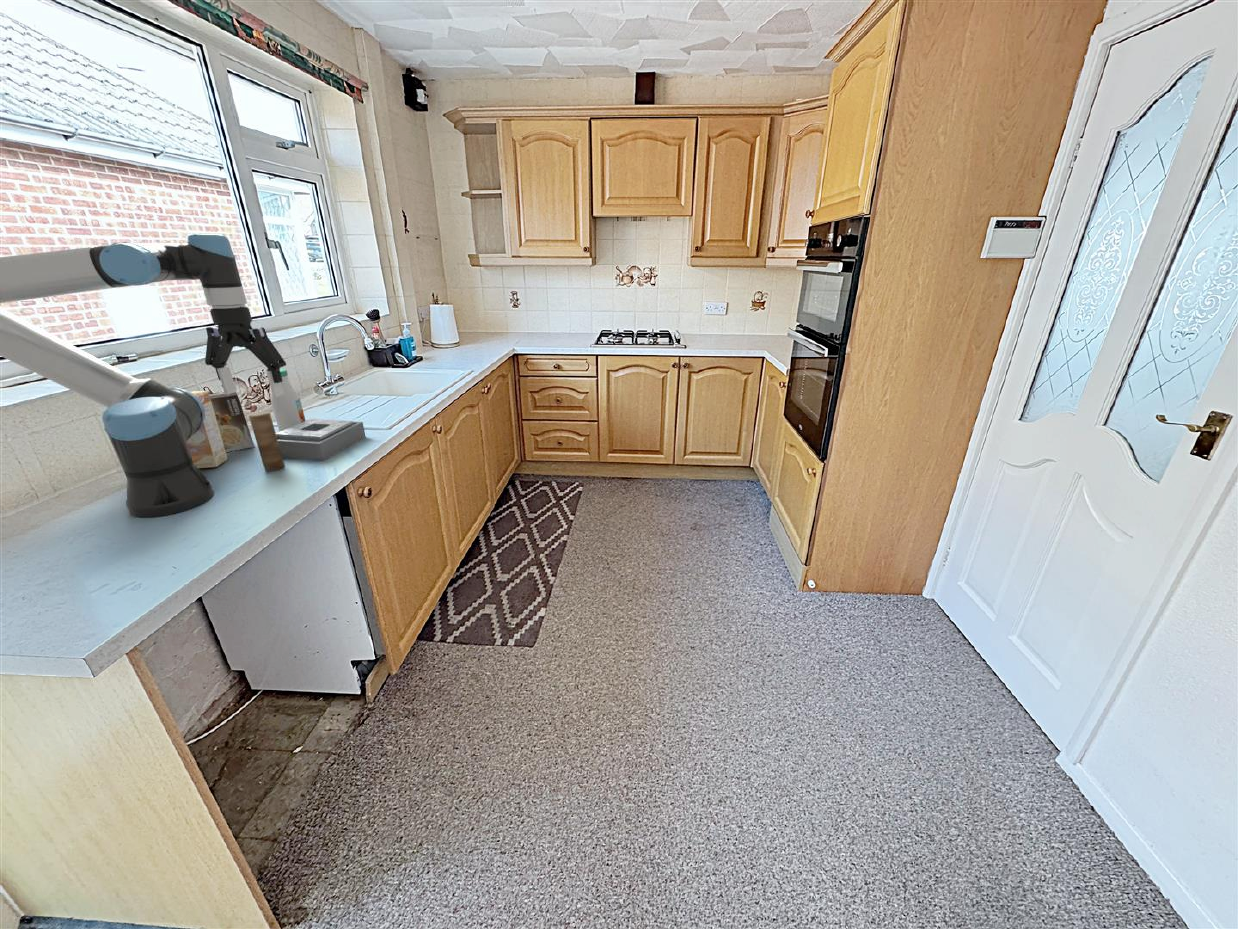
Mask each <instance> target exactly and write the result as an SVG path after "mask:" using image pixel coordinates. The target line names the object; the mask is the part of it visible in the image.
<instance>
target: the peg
mask: <svg viewBox="0 0 1238 929" xmlns="http://www.w3.org/2000/svg"><path fill="white" fill-rule="evenodd" d="M248 418H249V421H250V424H251V428H252V431H253V434H254V438H255V441H256V446H257V448H258V451H259V454H260V458H261V462H262V465H263V467H264V470H265V472H266V473H269V472H270V473H272V472H279V471H281V470H283V469H284V468H286V465H285V462H284V459H283V457H282V454H281V451H280V447H279V443H278V440H277V436H276V433H277V432H276V430H275V426H274V423H273V420H272V416H271V413H270V412H268V411H261V412H255V413H250V415H248Z"/></svg>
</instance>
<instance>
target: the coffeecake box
mask: <svg viewBox="0 0 1238 929" xmlns="http://www.w3.org/2000/svg"><path fill="white" fill-rule="evenodd" d="M189 392H190V393H192V394H193V395H195V396H196V397H197V398H198V399H199V400H200V401H201V403H202V405H203V407H204V410H205V419H204V421H203V423H202V426H201V428H200V429H199V430H198V431H197V432H196V433H195V434H193V435H192V436H191V437H190V438H189V439H188V440H187V441H186V443H187V446H188V449H189V451H190V454H191V457H192V460H193V463H194V465H195V466H196V467H197V468H198V469H205V468H206V469H207V468H216V467H219V466H220V465H221V464H223V463H225V462H226V461H227V460H228V457H227V456H228V455H227V453H226V452H225V448H224V445H223V441H222V438H221V434H220V431H219V427H218V424H217V420H216V417H215V413H214V409H213V406H212V402H211V399H210V395H209V394H210V393H209V390H194V391H189Z"/></svg>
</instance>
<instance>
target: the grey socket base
mask: <svg viewBox="0 0 1238 929" xmlns="http://www.w3.org/2000/svg"><path fill="white" fill-rule="evenodd" d="M351 421H352V422H353V425H352V426H350V427H348V428H346V429H344V430H342V431H340V432H338V433H336V434H334V435H332V436H330V437H328V438H326V439H324V440H322V441H320V442H308V441H294V440H279V439H277V440H278V443H279V447H280V451H281V454H282V458H286V459H295V460H297V459H298V460H299V459H300V460H312V461H323V460H324V461H325V460H327V459H329V458H331V457H333V456H334V454H335V455H336V454H338V453H340V452H341V451H343V450H346V449H347V448H349V447H351V446H353V445H354V444H356V443H358V442H360V441H362V440H363V439H365V438H366V433H365V428H364V427H365V426H364V421H353V420H351ZM332 455H333V456H332Z"/></svg>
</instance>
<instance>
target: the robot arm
mask: <svg viewBox="0 0 1238 929" xmlns="http://www.w3.org/2000/svg"><path fill="white" fill-rule="evenodd" d="M186 239H187V241H186V243H158V242H157V243H156V242H153V243H152V242H151V243H148V242H133V243H132V242H126V241H125V242H123V241H122V242H114V243H112V244H109V245H100V246H90V247H79V248H73V249H64V250H54V251H53V250H52V251H45V252H37V253H36V252H35V253H28V254H27V253H26V254H20V255H19V254H18V255H17V254H16V255H7V256H0V357H2V358H4V359H6V360H8V361H10V362H13V363H14V364H17V365H19V366H20V367H23V368H24V369H26V370H29V371H31V372H33V373H35V374H37V375H39V376H41V377H44V378H46V379H48V380H49V381H52V382H53V383H56V384H58V385H59V386H62V387H64V388H65V389H68V390H70V391H72V392H74V393H76V394H79V395H81V396H83V397H85V398H87V399H89V400H91V401H93V402H95V403H97V404H99V405H102V406H103V407H105V408H106V409H105V410H104V411H103V413H102V416H101V419H102V422H103V426H104V427H103V428H104V431H105V433H106V434H107V436H108V438H109V441H110V443H111V445H112V447H113V449H114V452H115V454H116V456H117V459H118V461H119V463H120V466H121V468H122V471H123V473H124V475H125V477H126V499H125V500H126V501H125V504H126V507H127V510H128V511H129V515H132V516H133V517H136V518H137V517H138V518H139V517H140V518H154V517H162V516H163V517H164V516H168V515H172V514H177V513H181V512H184V511H187V510H190V509H193V508H195V507H198V506H199V505H202V504H204V503H206V502H207V501H209V500H210V499H212V497H213V496H214V495H215V492H214V489H213V485H212V483H211V482H210V481H209V480H208V479H207V477H206V476H205V475H204V474H203V473H202V471H200V468H197V467H196V466H195V465H194V463H193V460H192V457H191V454H190V451H189V449H188V446H187V443H186V441H187V440H188V439H189V438H190V437H191V436H192V435H193V434H195V433H196V432H197V431H198V430H199V429H200V428H201V426H202V423H203V421H204V419H205V410H204V407H203V405H202V403H201V401H200V400H199V399H198V398H197V397H196V396H195V395H193V394H192V393H190V392H191V391H188V390H186V389H182V388H179V387H167V386H165V385H163V384H161V383H159V382H157V381H156V380H154V379H152V378H140V379H139V378H135V377H134V376H132V375H130V374H128V373H126V372H124V371H122V370H121V369H119V368H117V367H114V366H112V365H110V364H109V363H107V362H105V361H103V360H101V359H100V358H97V357H95V356H94V355H92V354H89V353H88V352H85V351H84V350H82V349H80V348H78V347H77V346H74V345H72V344H71V343H69V342H67V341H65V340H63V339H61V338H59V337H57V336H56V335H54V334H52V333H49V332H48V331H45V330H44V329H42V328H40V327H39V326H37V325H34V324H32V323H30V322H29V321H27V320H25V319H23V318H20V317H19V316H17V315H15V314H13V313H11V312H10V311H8V310H6V309H4V308H3V307H2V304H4V303H5V304H6V303H13V302H14V303H15V302H20V301H27V300H34V299H35V300H37V299H42V298H49V297H50V298H51V297H56V296H65V295H71V294H79V293H86V292H93V291H101V290H107V289H114V288H125V287H133V286H143V285H149V284H152V283H159V282H166V281H186V280H187V281H189V280H191V281H196V280H199V281H200V283H201V287H202V291H203V292H204V293H203V294H204V296H205V297H204V298H205V299H206V300H205V301H206V303H207V305H208V306H210V308H209V313H210V315H211V320H212V322H213V324H214V326H208V327H206V328H205V330H206V335H207V341H206V349H205V358H204V359H205V360H204V362H205V363H204V364H205V365H206V366H211V367H213V368H214V369H215V373H216V375H217V379H219V381H220V382H221V383H220V384H221V386H222V389H223V392H225V394H231V393H234V392H236V393H237V392H238V391H237V388H236V385H235V382H234V379H233V374H232V372H231V368H230V366H228V363H227V362H228V360H229V358H230V356H231V354H232V351H233V349H234V348H235V347H237V348H238V347H239V348H245V349H246V350H248V351H250V352H251V353H252V354H253V355H254V356H255V357H256V358H257V359H258V360H259V361H260V362H261V363H262V364H263V365H264V366H265V367H266V368H267V370H265V373H266V376H267V379H268V383H269V386H270V392H271V391H272V394H273V397H277V396H280V395H283V394H284V391H283V388H282V384H281V382H282V377H281V373H280V369H282V368H283V367H286V366H287V362H286V361H285V359H284V358H283V356H282V355H281V354H280V353H279V351H278V350H277V348H276V347H275V345H274V343H272V341H271V339H270V338H269V337H268V334H267V332H266V329H265V327H255V328H253V327H252V325H251V323H252V321H253V319H252V315H251V311H250V308H249V307H248V306H246V305H247V304H248V303H247V297H246V294H245V291H244V287H243V284H242V280H241V276H240V272H239V268H238V265H237V261H236V255H235V254H234V252H233V248H232V246H231V243H230V240H229V238H228V237H226V236H225V235H223V234H220V233H219V234H218V233H211V234H210V233H189V234H188V235H187V236H186Z"/></svg>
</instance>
